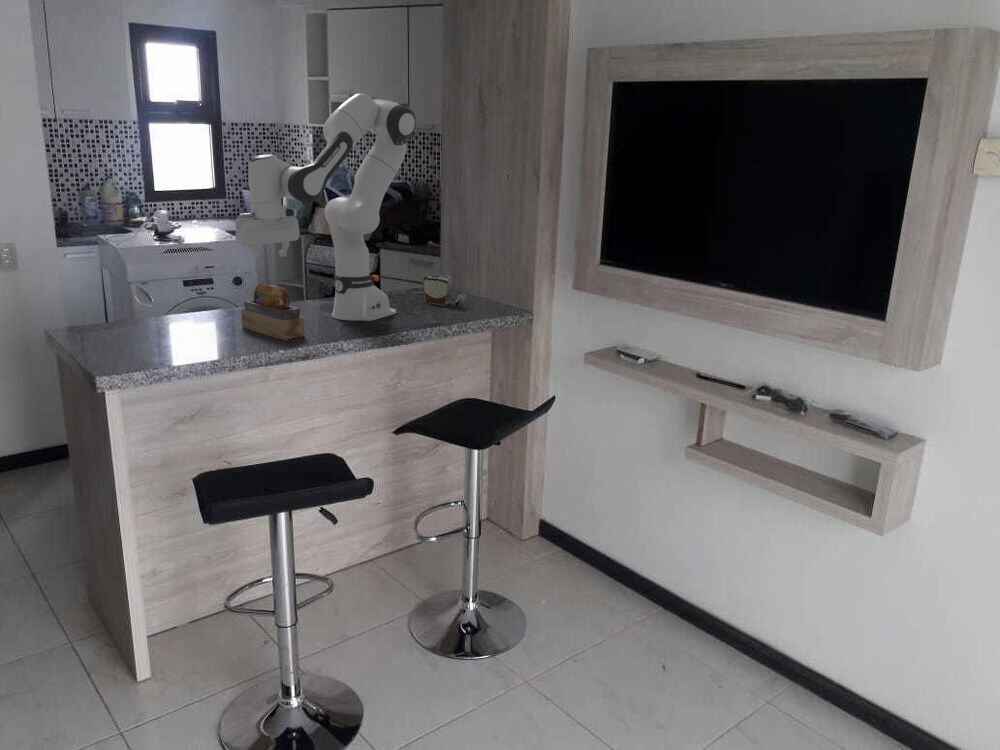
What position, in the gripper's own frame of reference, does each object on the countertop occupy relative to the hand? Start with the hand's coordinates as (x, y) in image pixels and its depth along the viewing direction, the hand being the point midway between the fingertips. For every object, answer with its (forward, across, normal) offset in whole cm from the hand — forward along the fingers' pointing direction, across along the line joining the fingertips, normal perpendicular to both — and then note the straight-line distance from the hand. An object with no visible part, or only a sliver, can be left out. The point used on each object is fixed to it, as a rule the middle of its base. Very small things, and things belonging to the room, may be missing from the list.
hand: (269, 258), depth 242 cm
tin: (+17, 0, 0) cm, 17 cm away
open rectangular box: (+23, -1, 0) cm, 23 cm away
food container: (+24, +69, -4) cm, 74 cm away
